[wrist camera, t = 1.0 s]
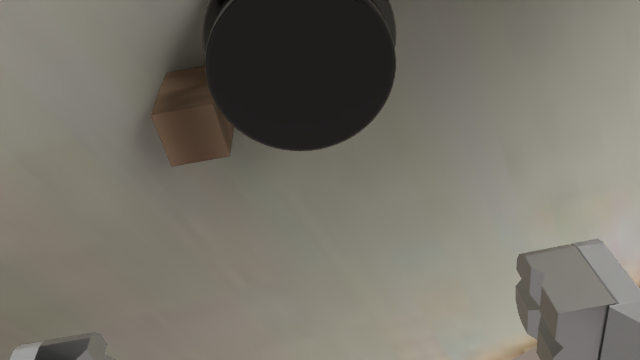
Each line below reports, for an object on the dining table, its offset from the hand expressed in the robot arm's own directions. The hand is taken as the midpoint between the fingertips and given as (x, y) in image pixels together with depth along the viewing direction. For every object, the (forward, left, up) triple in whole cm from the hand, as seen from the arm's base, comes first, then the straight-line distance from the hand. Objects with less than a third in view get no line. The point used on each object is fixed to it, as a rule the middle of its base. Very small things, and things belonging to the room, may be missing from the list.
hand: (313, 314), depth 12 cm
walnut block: (+11, +7, -31) cm, 34 cm away
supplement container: (+2, +4, -31) cm, 32 cm away
